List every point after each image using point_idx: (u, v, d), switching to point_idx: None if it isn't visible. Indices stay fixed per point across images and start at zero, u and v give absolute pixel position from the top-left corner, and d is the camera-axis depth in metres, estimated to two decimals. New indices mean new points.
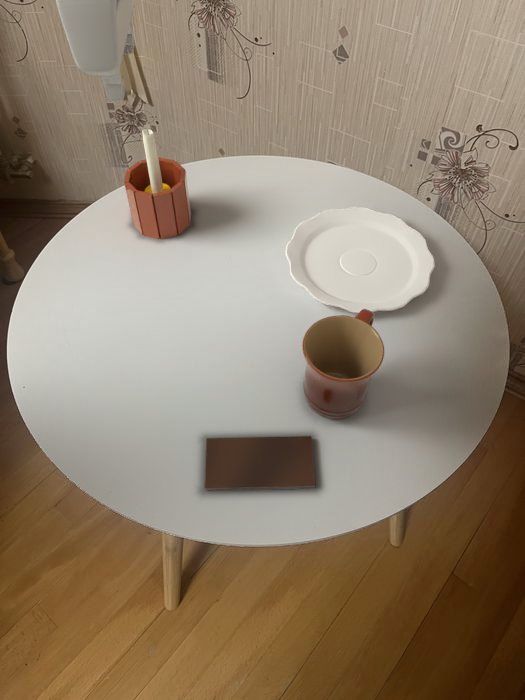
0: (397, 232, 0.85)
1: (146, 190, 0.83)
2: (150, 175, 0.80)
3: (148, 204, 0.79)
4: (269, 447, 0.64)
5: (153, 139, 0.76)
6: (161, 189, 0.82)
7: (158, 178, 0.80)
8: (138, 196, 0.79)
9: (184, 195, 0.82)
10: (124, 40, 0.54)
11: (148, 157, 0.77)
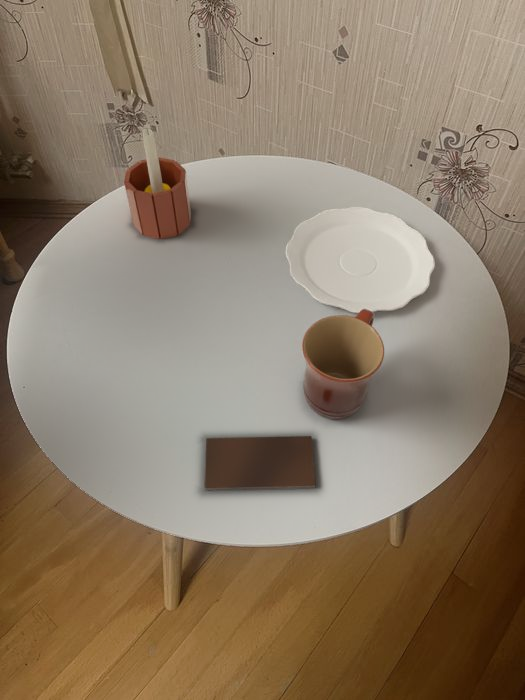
0: (397, 232, 0.85)
1: (146, 190, 0.83)
2: (150, 175, 0.80)
3: (148, 204, 0.79)
4: (269, 447, 0.64)
5: (153, 139, 0.76)
6: (161, 189, 0.82)
7: (158, 178, 0.80)
8: (138, 196, 0.79)
9: (184, 195, 0.82)
10: None
11: (148, 157, 0.77)
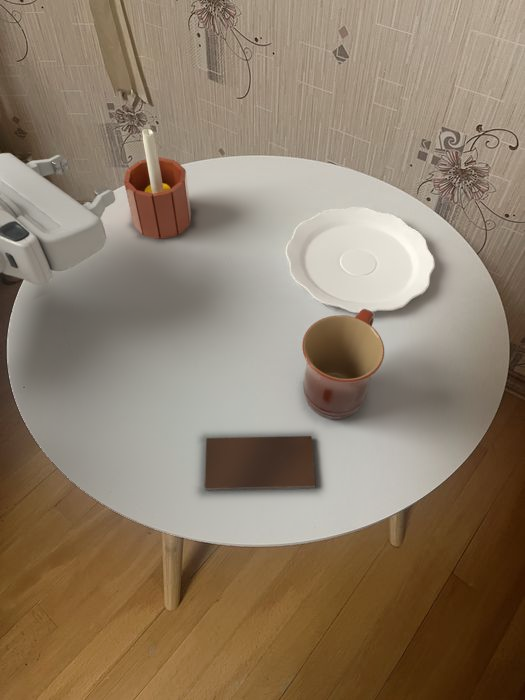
0: (397, 232, 0.85)
1: (146, 190, 0.83)
2: (150, 175, 0.80)
3: (148, 204, 0.79)
4: (269, 447, 0.64)
5: (153, 139, 0.76)
6: (161, 189, 0.82)
7: (158, 178, 0.80)
8: (138, 196, 0.79)
9: (184, 195, 0.82)
10: (69, 202, 0.67)
11: (148, 157, 0.77)
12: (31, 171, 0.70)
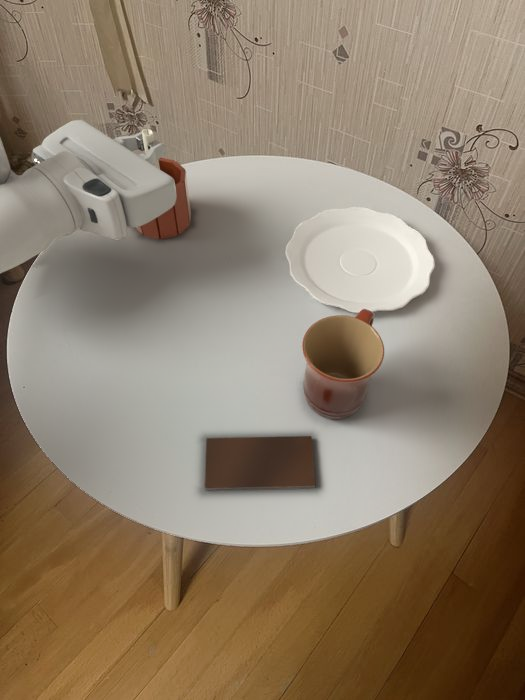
0: (397, 232, 0.85)
1: None
2: None
3: None
4: (269, 447, 0.64)
5: (153, 139, 0.76)
6: None
7: None
8: None
9: (184, 195, 0.82)
10: (143, 163, 0.71)
11: None
12: (104, 136, 0.75)
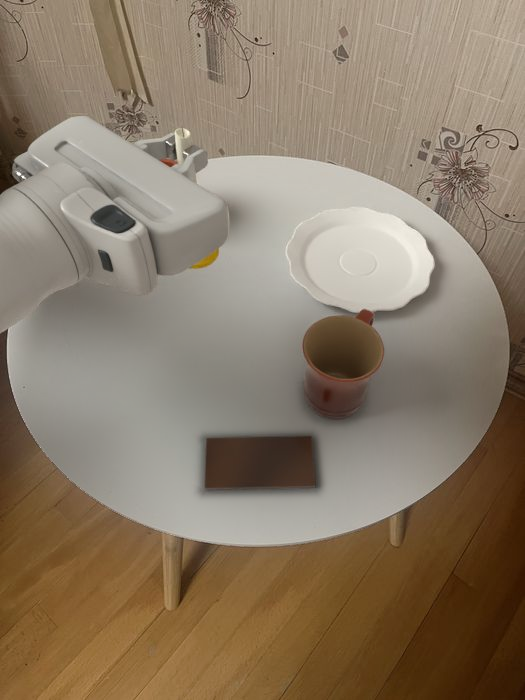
0: (397, 232, 0.85)
1: None
2: None
3: None
4: (269, 447, 0.64)
5: (190, 143, 0.52)
6: None
7: None
8: None
9: None
10: (179, 179, 0.48)
11: None
12: (120, 139, 0.51)
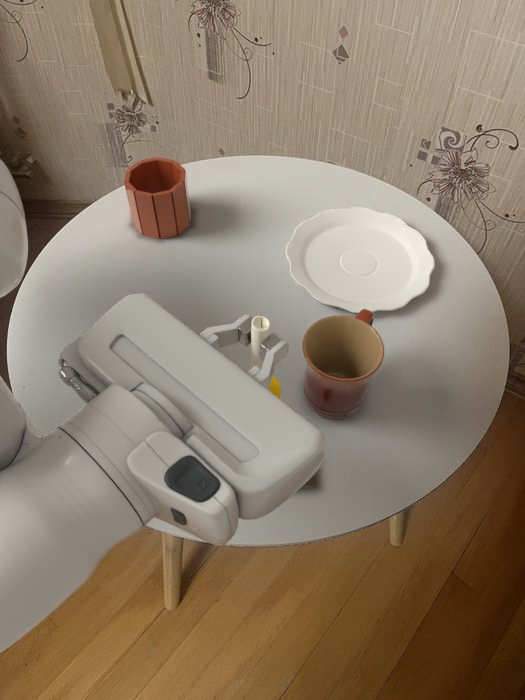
0: (397, 232, 0.85)
1: None
2: None
3: (148, 204, 0.79)
4: None
5: (269, 333, 0.44)
6: None
7: None
8: (138, 196, 0.79)
9: (184, 195, 0.82)
10: (263, 398, 0.39)
11: (256, 356, 0.45)
12: (186, 331, 0.43)
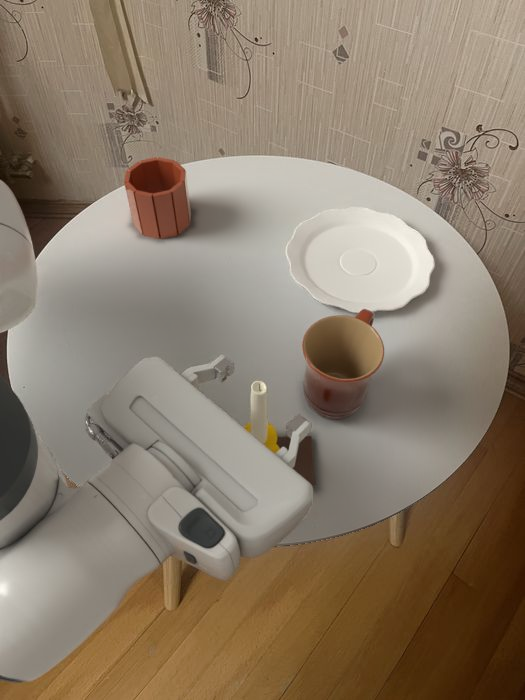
0: (397, 232, 0.85)
1: None
2: (253, 427, 0.56)
3: (148, 204, 0.79)
4: None
5: (266, 395, 0.51)
6: (265, 438, 0.58)
7: (264, 429, 0.56)
8: (138, 196, 0.79)
9: (184, 195, 0.82)
10: (261, 453, 0.46)
11: (255, 413, 0.53)
12: (195, 393, 0.50)
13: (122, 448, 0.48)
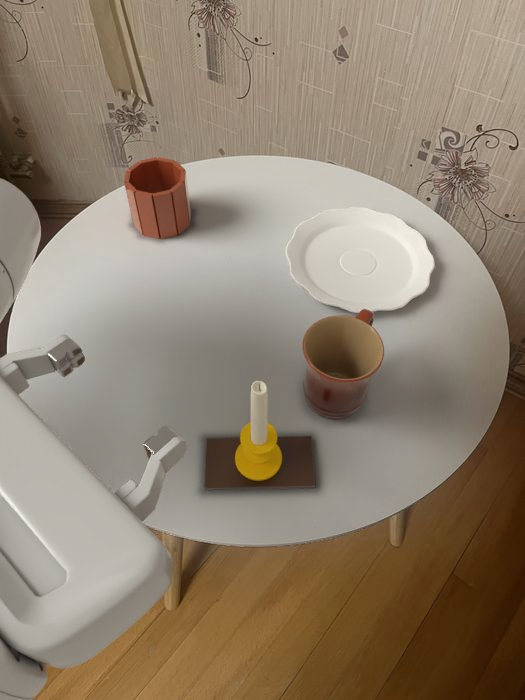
0: (397, 232, 0.85)
1: (242, 435, 0.59)
2: (253, 427, 0.56)
3: (148, 204, 0.79)
4: None
5: (266, 395, 0.51)
6: (265, 438, 0.58)
7: (264, 429, 0.56)
8: (138, 196, 0.79)
9: (184, 195, 0.82)
10: (88, 492, 0.28)
11: (255, 413, 0.53)
12: (3, 392, 0.32)
13: None
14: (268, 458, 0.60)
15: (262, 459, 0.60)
